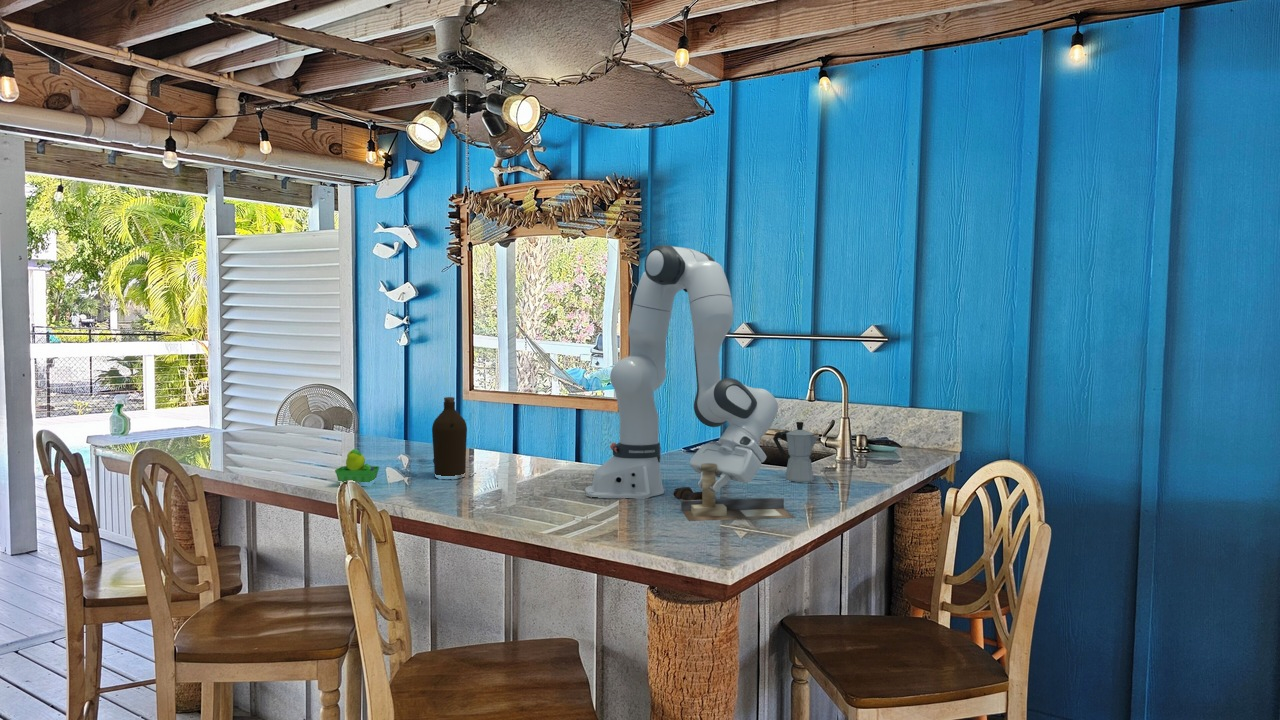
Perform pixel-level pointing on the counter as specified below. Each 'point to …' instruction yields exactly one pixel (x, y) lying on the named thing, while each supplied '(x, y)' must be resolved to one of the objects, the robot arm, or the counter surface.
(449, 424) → the olive oil
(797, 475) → the coffee maker
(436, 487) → the counter surface
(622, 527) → the counter surface
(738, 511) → the board
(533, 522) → the counter surface
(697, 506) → the stamp
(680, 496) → the bolt
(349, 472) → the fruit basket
